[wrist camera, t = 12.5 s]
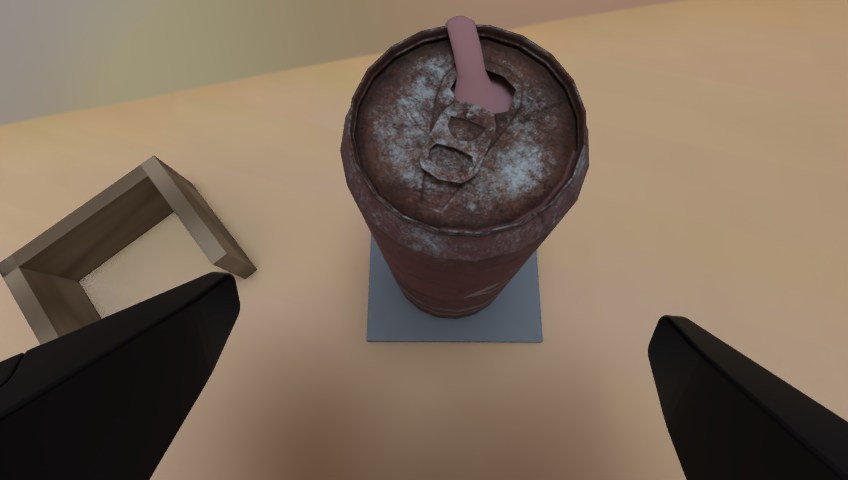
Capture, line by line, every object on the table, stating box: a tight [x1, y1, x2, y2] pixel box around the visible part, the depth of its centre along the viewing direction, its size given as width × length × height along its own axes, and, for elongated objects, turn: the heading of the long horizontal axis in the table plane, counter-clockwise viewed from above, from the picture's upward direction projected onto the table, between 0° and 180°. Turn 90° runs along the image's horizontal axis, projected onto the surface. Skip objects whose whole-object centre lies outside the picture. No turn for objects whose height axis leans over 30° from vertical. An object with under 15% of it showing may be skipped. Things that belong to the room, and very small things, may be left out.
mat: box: [367, 233, 543, 342], centre depth 23 cm, size 9×9×1 cm
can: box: [340, 16, 589, 319], centre depth 16 cm, size 6×6×14 cm
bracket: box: [0, 156, 257, 345], centre depth 22 cm, size 7×9×4 cm
